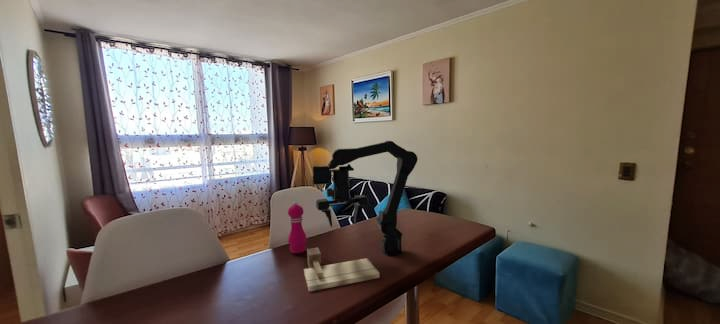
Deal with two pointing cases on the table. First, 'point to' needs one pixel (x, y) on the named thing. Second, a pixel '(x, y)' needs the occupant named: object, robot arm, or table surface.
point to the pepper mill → (296, 229)
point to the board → (340, 274)
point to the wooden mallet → (315, 260)
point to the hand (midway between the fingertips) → (343, 225)
